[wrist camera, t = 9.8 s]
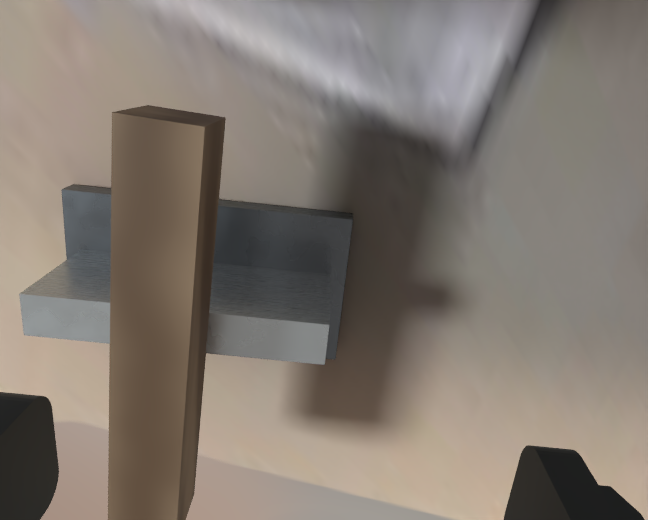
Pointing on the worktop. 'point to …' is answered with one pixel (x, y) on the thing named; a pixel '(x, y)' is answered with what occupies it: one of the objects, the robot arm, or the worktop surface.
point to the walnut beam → (159, 304)
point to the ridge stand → (227, 279)
